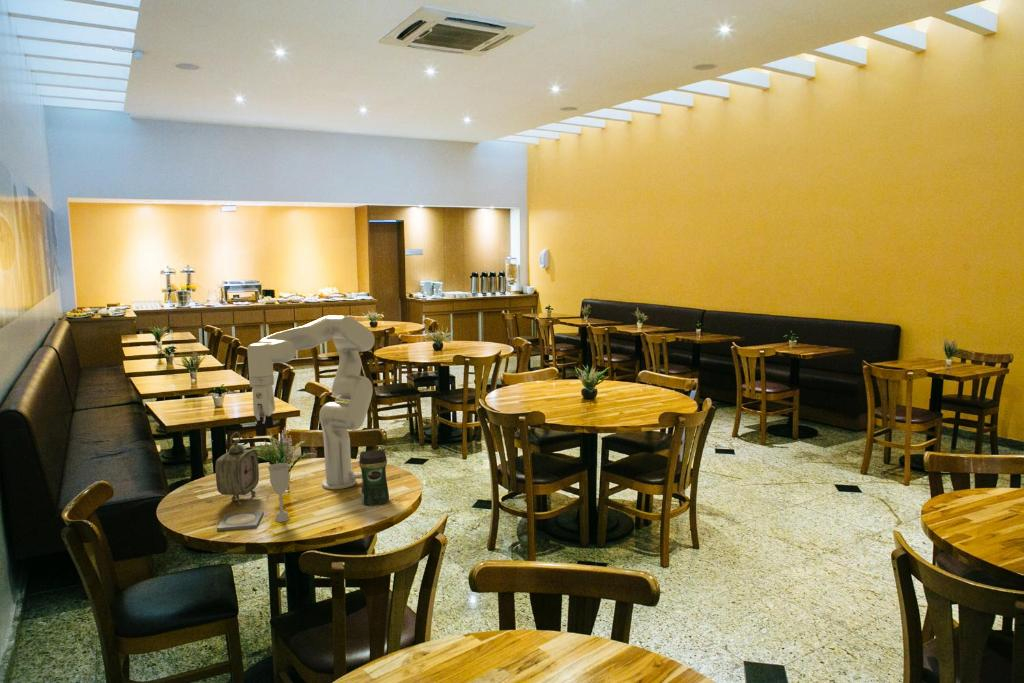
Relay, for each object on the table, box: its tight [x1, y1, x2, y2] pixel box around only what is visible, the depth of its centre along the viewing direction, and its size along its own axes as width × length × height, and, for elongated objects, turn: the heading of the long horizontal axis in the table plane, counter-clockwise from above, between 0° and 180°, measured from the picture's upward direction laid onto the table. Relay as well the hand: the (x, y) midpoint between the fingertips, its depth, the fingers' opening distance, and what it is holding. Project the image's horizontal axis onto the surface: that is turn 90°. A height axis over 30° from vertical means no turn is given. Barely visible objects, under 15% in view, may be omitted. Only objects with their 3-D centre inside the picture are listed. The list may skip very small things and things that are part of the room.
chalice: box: [267, 462, 291, 523], centre depth 224 cm, size 7×7×18 cm
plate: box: [216, 510, 264, 532], centre depth 223 cm, size 12×12×1 cm
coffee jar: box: [358, 448, 390, 506], centre depth 238 cm, size 10×8×19 cm
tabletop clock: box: [214, 431, 260, 507], centre depth 241 cm, size 14×9×25 cm, turn 175°
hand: (265, 431), depth 225 cm, fingers open, 9 cm apart
